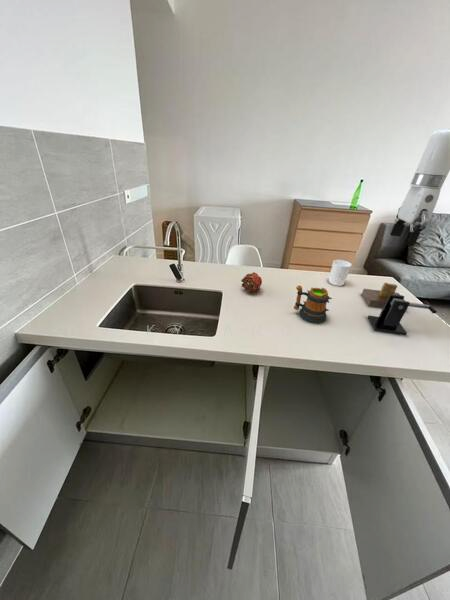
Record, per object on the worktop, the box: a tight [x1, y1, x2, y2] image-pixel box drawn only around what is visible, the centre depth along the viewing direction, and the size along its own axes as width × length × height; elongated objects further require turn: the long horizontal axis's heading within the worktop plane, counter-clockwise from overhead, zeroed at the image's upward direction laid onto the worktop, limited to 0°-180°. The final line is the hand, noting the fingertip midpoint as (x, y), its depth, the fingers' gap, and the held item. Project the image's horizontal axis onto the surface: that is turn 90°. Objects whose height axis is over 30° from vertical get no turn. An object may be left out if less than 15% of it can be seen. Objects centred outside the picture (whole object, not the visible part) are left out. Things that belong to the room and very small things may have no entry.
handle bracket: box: [367, 294, 411, 336], centre depth 84 cm, size 10×8×12 cm
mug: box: [293, 285, 333, 325], centre depth 88 cm, size 13×10×12 cm
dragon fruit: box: [240, 272, 263, 293], centre depth 104 cm, size 8×8×12 cm
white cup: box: [328, 259, 353, 287], centre depth 113 cm, size 8×8×10 cm
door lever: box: [390, 298, 438, 315], centre depth 81 cm, size 12×6×2 cm, turn 79°
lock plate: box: [361, 288, 406, 309], centre depth 101 cm, size 14×10×3 cm
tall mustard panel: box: [379, 282, 398, 297], centre depth 98 cm, size 5×1×6 cm, turn 79°
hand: (401, 240), depth 79 cm, fingers open, 9 cm apart
